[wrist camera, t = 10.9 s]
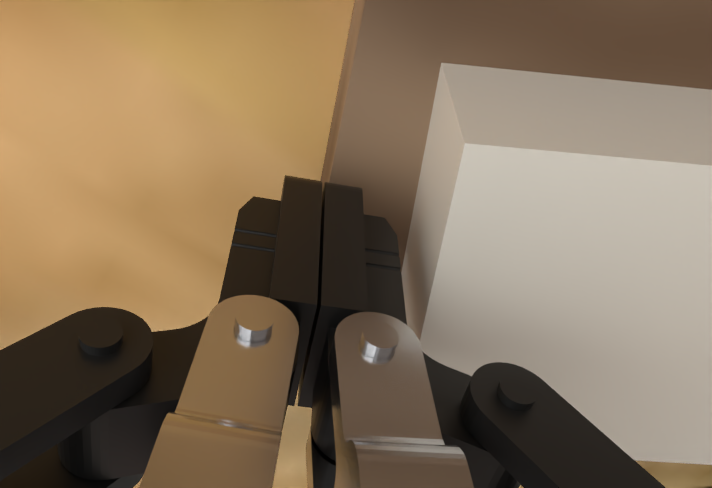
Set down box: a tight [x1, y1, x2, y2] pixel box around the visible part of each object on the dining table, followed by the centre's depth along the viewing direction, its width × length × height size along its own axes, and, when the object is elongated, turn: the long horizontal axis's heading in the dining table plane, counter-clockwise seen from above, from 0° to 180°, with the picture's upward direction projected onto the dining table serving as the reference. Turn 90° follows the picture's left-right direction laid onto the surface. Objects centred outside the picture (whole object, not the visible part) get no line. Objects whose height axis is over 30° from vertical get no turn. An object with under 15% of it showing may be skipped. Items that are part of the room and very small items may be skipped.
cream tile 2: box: [401, 63, 712, 465], centre depth 13 cm, size 7×7×3 cm
